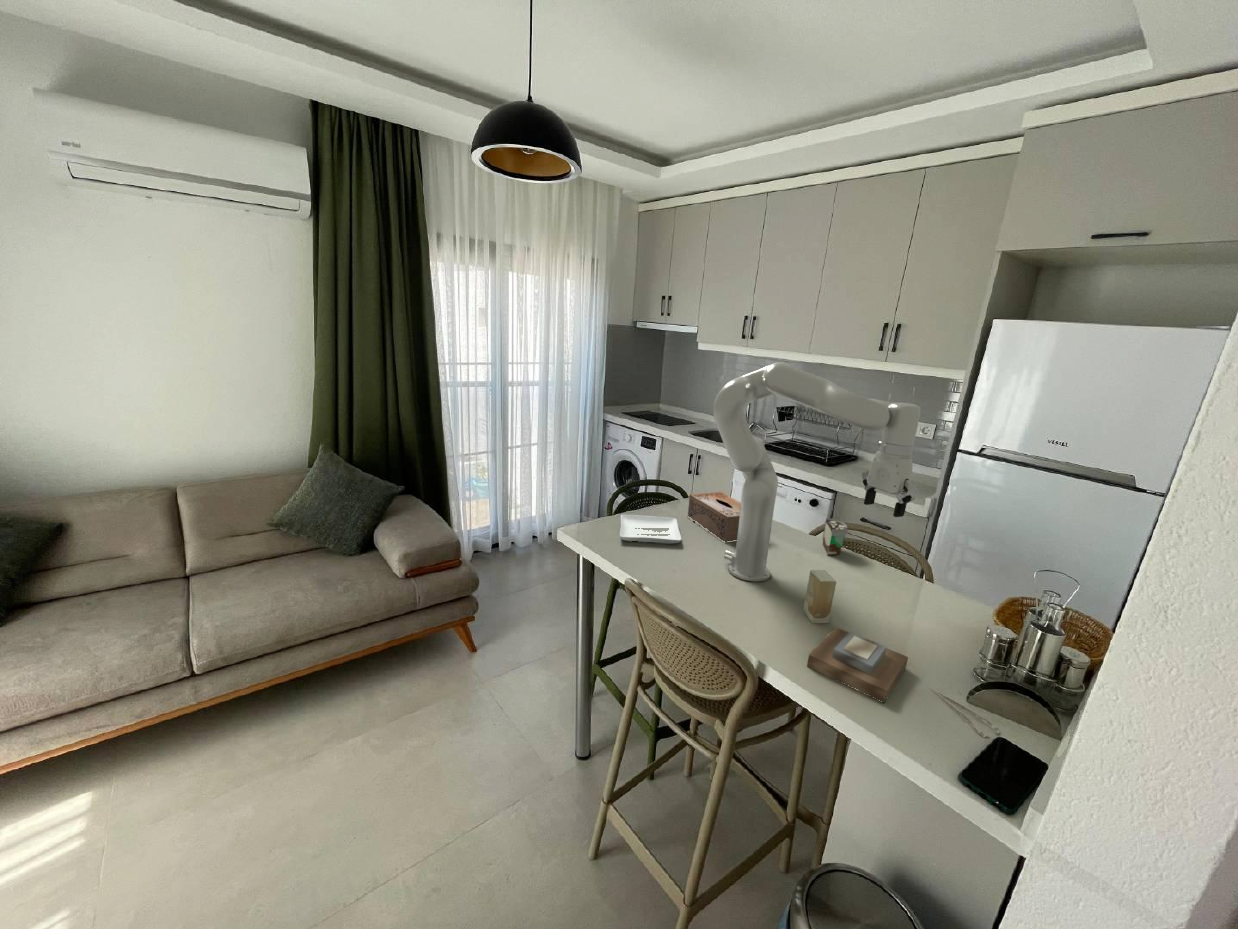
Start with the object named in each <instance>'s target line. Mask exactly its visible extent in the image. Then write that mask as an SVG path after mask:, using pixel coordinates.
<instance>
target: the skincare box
mask: <svg viewBox="0 0 1238 929" xmlns="http://www.w3.org/2000/svg"><path fill="white" fill-rule="evenodd" d="M836 586H837V580H836V579H834V577H833V576H832V575H831V574H829V573H828V571H827V570H825V569H823V570H821V569H820V570H819V569H811V570H810V571H809V576H808V582H807V588H806V592H805V598H804V602H803V609H802V611H803V613H804V614H805V616H807V618H808V619H809V620H810V622H811V623H813V624H829V620H830V615H831V611H832V606H833V599H834V597H835V590H836Z"/></svg>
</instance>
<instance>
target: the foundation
mask: <svg viewBox="0 0 1238 929" xmlns="http://www.w3.org/2000/svg"><path fill="white" fill-rule="evenodd" d="M807 658H808V659H807V664H806V667H807V668H809V669H811V670H813V669H814V671H815V670H816V672H817V673H820V674H822V675H823V676H826V675H827V676H826V677H828V676H829V677H828V678H830V677H831V678H830V679H832V678H834V679H835V680H834V679H833V680H834V681H836V680H838V681H840V682H843V683H845V684H846V685H845V684H844V685H845V686H847V685H849V686H850V687H849V686H848V687H849V688H851V687H853V688H856V689H858V690H859V691H861V692H863V693H865V694H868V695H870V696H871V697H874V698H876V699H878V700H880V701H882V702H885V703H886V701H887V700H888V698H889V697H890V695H889V694H891V693H892V692H891V691H893V690H894V688H896V686H897V683H898V681H899V680H900V679H899V678H901V677H902V675H903V674H904V672H905V671H904V670H906V668H907V664H908V660H909V657H908V656H907V655H904V654H902V653H900V652H897V651H895V650H892V649H890V648H888V647H887V646H886V645H883V644H880V643H879V642H876V641H873V640H871V639H869V638H867V637H864V636H862V635H860V634H857V633H855V632H852V631H846V630H844V629H841V628H839V627H837V626H836V627H834V629H833V630H831V632H829V633H828V635H827V636H825V638H823V640H822V641H821V642H819V644H818V645H817V646H816V647H815V648H814V649H813V650H812V651H811V652H810V653H809V654H808V657H807ZM838 681H837V682H838ZM840 682H839V683H840ZM853 688H852V689H853ZM892 689H893V690H892ZM859 691H858V692H859ZM861 692H860V693H861ZM863 693H862V694H863ZM865 694H864V695H865ZM871 697H870V698H871ZM887 697H888V698H887ZM874 698H873V699H874ZM876 699H875V700H876ZM886 699H887V700H886ZM878 700H877V701H878ZM880 701H879V702H880ZM882 702H881V703H882Z"/></svg>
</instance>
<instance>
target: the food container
mask: <svg viewBox="0 0 1238 929" xmlns="http://www.w3.org/2000/svg"><path fill="white" fill-rule="evenodd" d="M824 524H825V525H824V530H823V537H822V539H823V540H822V544H821V545H822V547H823V549H824V551H825V553H826V556H827V557H836V556H837V555H838V556H839V555H841V551H842V548H843V545H844V540H845V537H846V535H848V534H849V530H848V525H847V523H844V522H843V521H840V520H837V519H834V518H829V517H826V518H825V523H824ZM838 556H837V557H838Z"/></svg>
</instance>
